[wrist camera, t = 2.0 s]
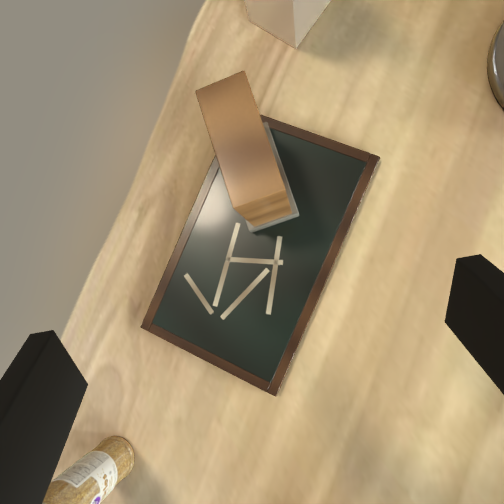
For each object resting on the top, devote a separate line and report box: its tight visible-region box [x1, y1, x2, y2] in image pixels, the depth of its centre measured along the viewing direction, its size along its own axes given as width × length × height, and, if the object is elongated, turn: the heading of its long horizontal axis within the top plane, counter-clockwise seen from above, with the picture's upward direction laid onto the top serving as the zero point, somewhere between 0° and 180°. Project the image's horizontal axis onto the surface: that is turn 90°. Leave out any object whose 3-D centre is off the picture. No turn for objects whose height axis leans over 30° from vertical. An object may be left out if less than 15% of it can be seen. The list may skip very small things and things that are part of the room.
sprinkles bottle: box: [42, 436, 134, 504], centre depth 31 cm, size 5×5×14 cm
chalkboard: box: [141, 115, 380, 396], centre depth 36 cm, size 26×16×1 cm, turn 156°
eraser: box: [196, 71, 299, 233], centre depth 30 cm, size 10×5×11 cm, turn 18°
